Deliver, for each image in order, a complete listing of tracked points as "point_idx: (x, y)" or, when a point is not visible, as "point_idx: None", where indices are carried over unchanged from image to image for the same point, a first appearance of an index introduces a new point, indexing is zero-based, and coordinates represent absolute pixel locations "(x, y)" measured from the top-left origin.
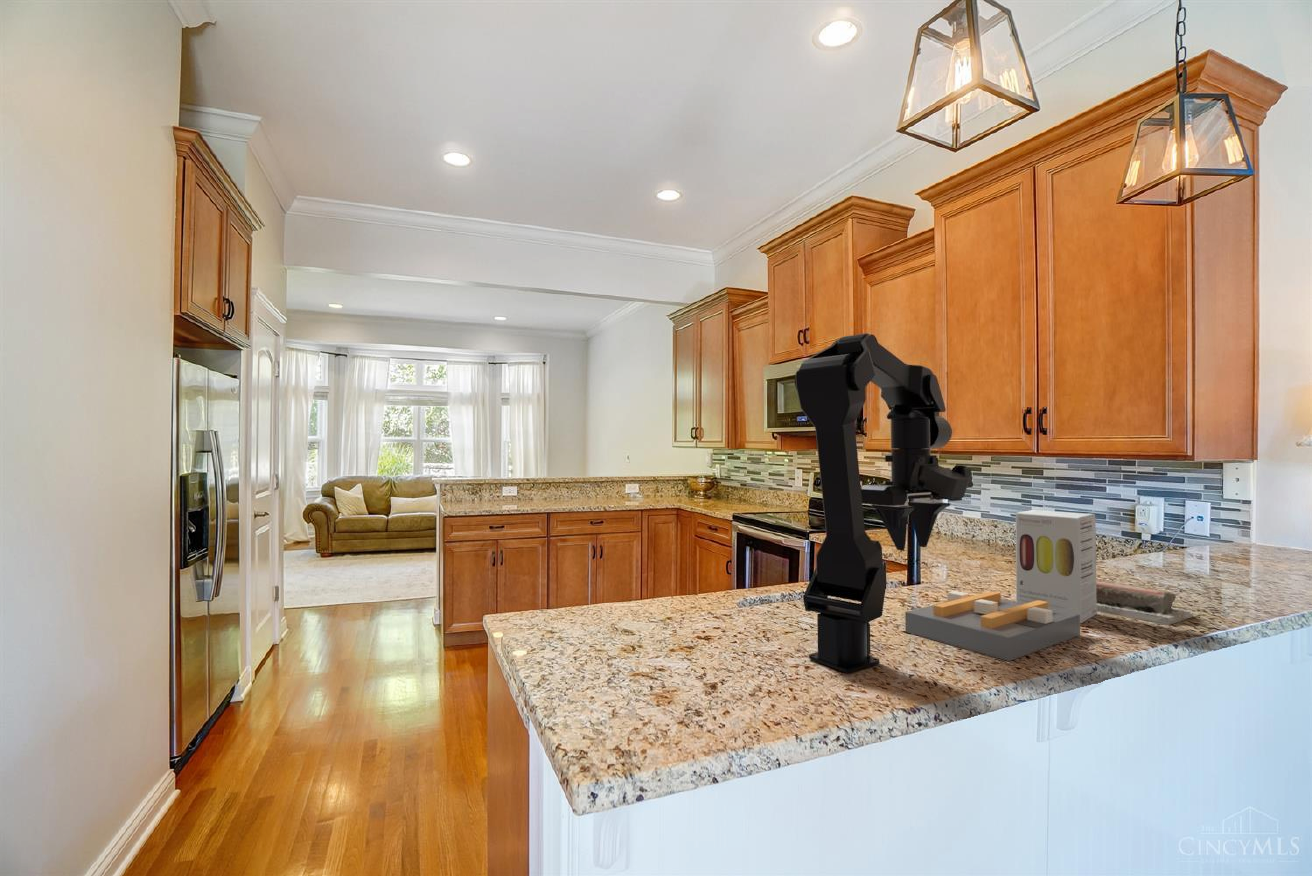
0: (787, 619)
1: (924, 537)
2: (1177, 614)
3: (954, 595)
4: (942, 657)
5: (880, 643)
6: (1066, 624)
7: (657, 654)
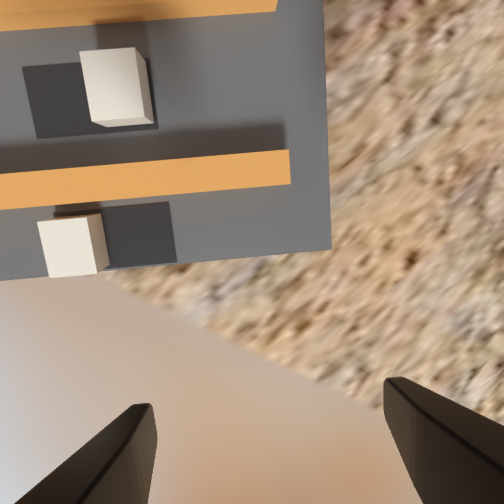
0: None
1: (130, 459)
2: None
3: (94, 245)
4: (418, 47)
5: (448, 203)
6: None
7: None
